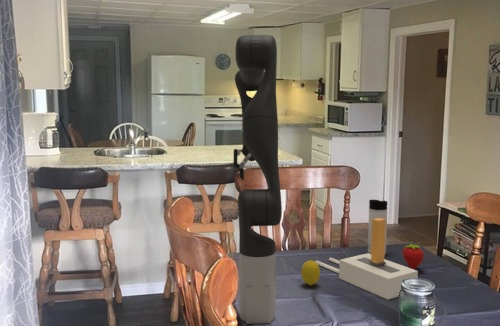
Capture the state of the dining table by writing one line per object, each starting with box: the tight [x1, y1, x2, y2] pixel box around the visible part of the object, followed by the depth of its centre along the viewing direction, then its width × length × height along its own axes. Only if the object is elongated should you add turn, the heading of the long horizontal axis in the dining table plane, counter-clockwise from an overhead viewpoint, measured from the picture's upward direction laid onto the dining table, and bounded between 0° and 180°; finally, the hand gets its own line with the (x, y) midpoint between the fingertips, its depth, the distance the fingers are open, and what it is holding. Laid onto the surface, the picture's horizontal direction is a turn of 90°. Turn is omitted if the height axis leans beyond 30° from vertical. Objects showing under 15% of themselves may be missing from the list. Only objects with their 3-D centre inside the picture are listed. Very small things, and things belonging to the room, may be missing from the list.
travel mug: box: [367, 199, 388, 257], centre depth 188 cm, size 6×7×20 cm
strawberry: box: [402, 241, 425, 270], centre depth 172 cm, size 6×8×10 cm
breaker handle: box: [369, 218, 386, 266], centre depth 158 cm, size 4×3×14 cm
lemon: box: [301, 259, 321, 287], centre depth 159 cm, size 6×6×8 cm
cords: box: [314, 257, 340, 274], centre depth 175 cm, size 14×7×1 cm, turn 32°
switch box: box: [338, 252, 419, 301], centre depth 160 cm, size 20×12×6 cm, turn 32°
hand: (255, 179), depth 178 cm, fingers open, 8 cm apart
